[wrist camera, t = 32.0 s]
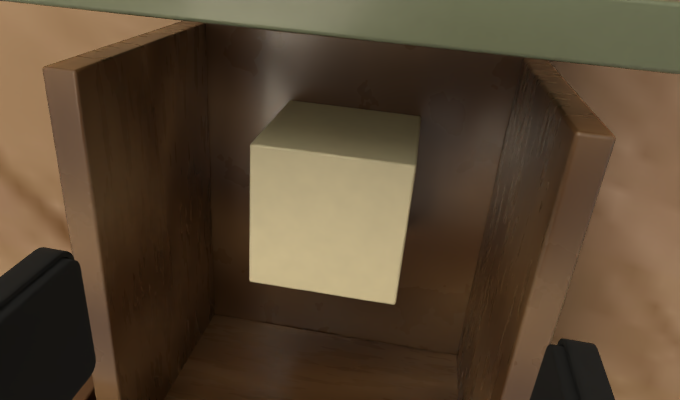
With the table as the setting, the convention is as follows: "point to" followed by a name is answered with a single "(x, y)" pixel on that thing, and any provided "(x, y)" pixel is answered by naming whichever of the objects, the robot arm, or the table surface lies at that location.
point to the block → (332, 200)
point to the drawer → (426, 206)
